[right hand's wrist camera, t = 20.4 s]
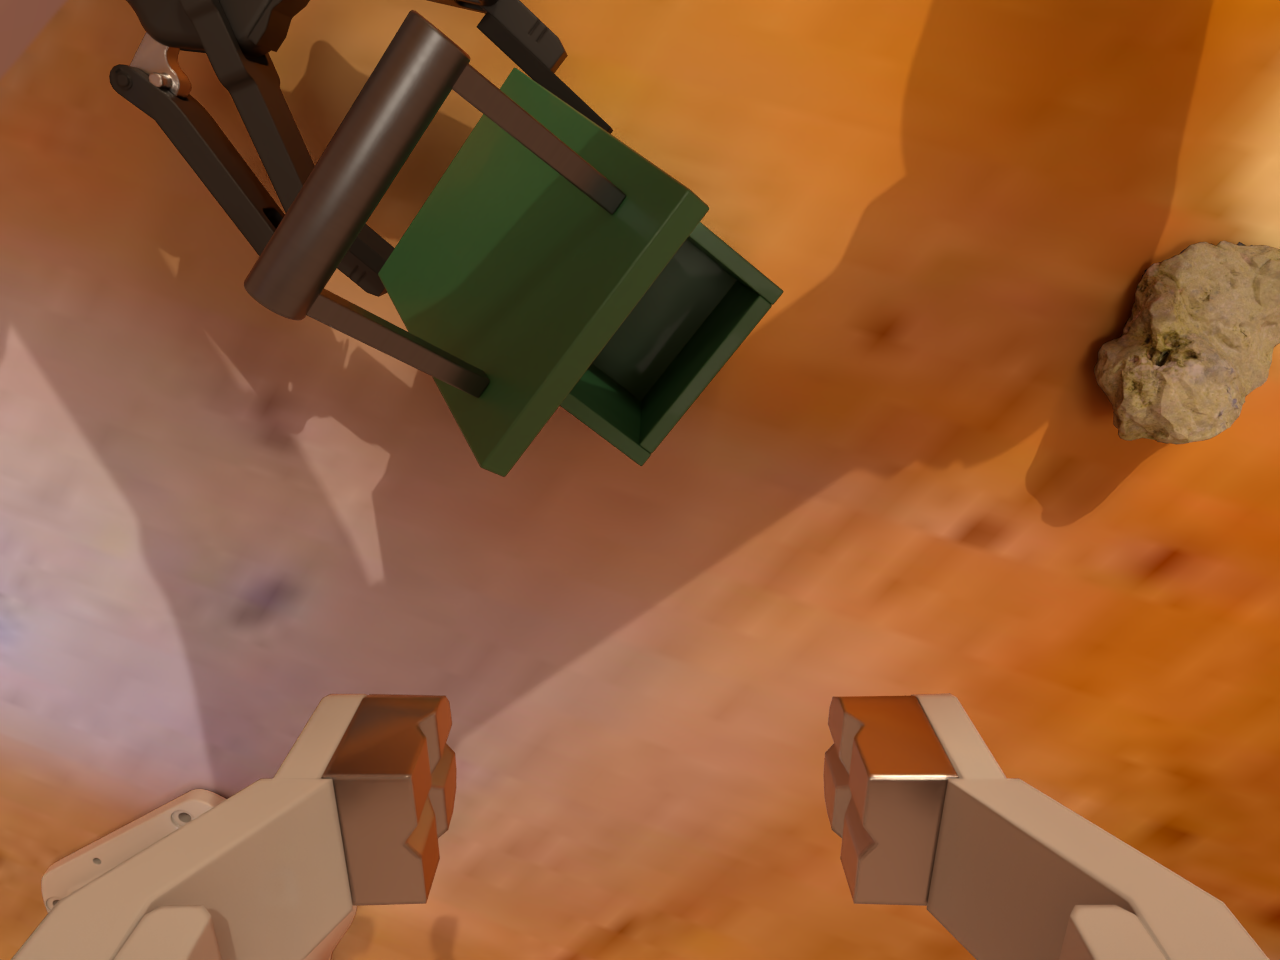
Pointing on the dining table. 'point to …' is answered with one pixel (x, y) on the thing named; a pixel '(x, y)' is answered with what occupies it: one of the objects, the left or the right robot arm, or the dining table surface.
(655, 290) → the chest
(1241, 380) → the rock
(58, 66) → the dining table surface
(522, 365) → the lid
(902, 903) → the right robot arm
